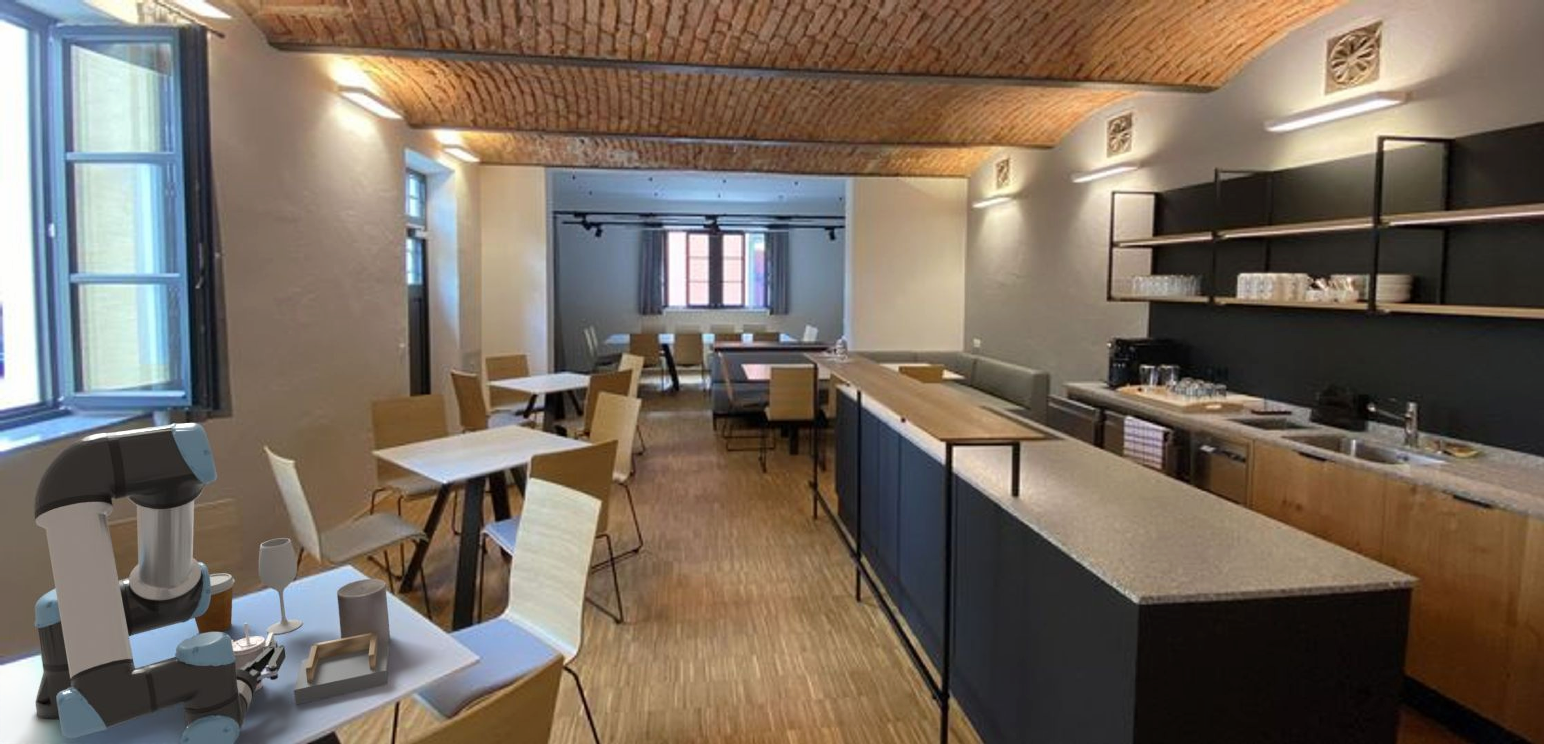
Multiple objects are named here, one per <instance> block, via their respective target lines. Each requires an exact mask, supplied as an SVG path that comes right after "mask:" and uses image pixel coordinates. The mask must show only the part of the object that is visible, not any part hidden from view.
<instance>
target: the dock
mask: <svg viewBox="0 0 1544 744" xmlns="http://www.w3.org/2000/svg"><path fill="white" fill-rule="evenodd" d="M389 651H390V650H389V643H385V644H380V645H378V646H377V657H376V667H375V668H374V669H370V666H369V649H364V650H359V651H354V652H349V653H344V654H339V655H334V656H329V657H324V658H319V660H318V664H317V668H316V672H315V676H314V680H313V681H312V682H307V676H306V665H307V662H308V658H305V659H302V660H301V664H300V668H299V671H298V675H297V678H296V682H295V685H294V688H293V693H294V702H295V703H294V704H295V705H299V704H303V703H307V702H312V701H318V700H322V699H326V698H330V697H335V696H340V695H345V694H348V693H355V692H359V691H362V690H367V689H372V688H377V687H381V686H386V685H388V679H389V678H388V677H389V676H388V675H389V663H390V662H389V661H390V652H389Z"/></svg>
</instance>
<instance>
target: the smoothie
mask: <svg viewBox="0 0 1544 744" xmlns="http://www.w3.org/2000/svg"><path fill="white" fill-rule="evenodd" d="M243 625H244V631H245V637H243V638H241V639H237V640H235V641H234V642H233V643H232V647H233V652H234V656H235V659H236V660H235V667H236V669H240V668H241V667H244V666H245V665H246V664H247V663H248V662H252V661H253V660H254V659H256V658H257V657H258V656H259V655H260V654H261V653H262V652H263V651H264V645H265V642H266V639H265V637H264V636H261V635H255V636H250V631H249V630H250V629H249V623H248V622H244V623H243ZM263 671H264V669H263V670H262V671H261V673H262V672H263ZM263 680H264V679H262V680H261V682H260V683H259V684H258V685H257V686H256V689H255V692H256V691H259V690H260V689H262V687H263Z"/></svg>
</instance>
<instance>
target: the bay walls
mask: <svg viewBox="0 0 1544 744" xmlns="http://www.w3.org/2000/svg"><path fill="white" fill-rule="evenodd" d="M377 646H378V643H377V633H376V632H373V633H368V634H363V635H357V636H352V637H347V638H342V639H341V638H337V639H332V640H327V641H322V642H317V643H312V644H311V647H310V651H309V656H308V658H307V659H308V662H307V665H306V676H307V682H312V681H313V680H314V676H315V672H316V668H317V664H318V660H319V658H324V657H329V656H334V655H339V654H344V653H349V652H354V651H359V650H364V649H369V666H370V669H374V668H375V667H376V657H377Z"/></svg>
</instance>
